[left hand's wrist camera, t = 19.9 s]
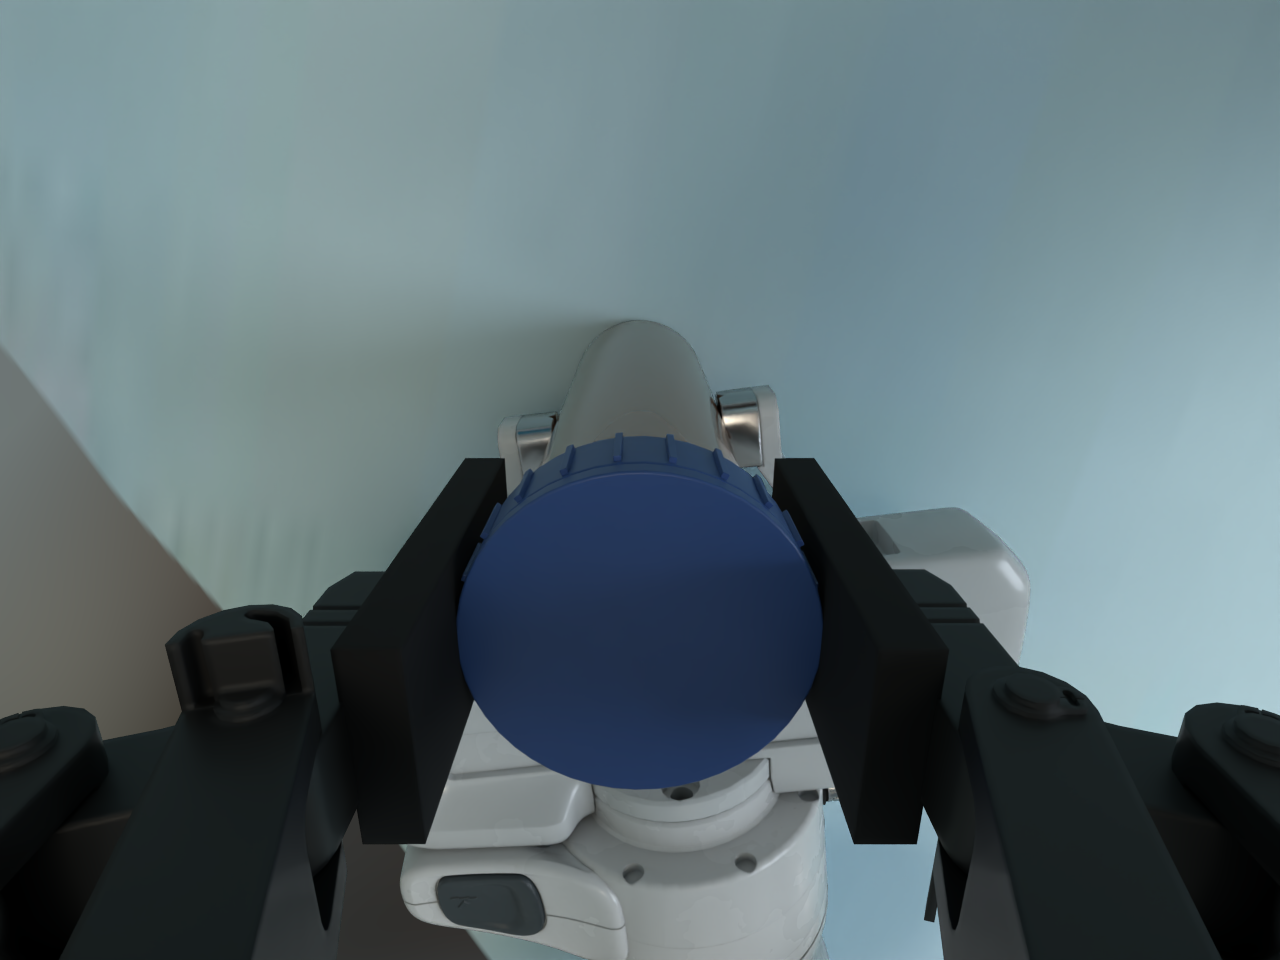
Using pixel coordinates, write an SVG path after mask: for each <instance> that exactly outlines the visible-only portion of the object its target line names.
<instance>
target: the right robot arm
mask: <svg viewBox="0 0 1280 960" xmlns="http://www.w3.org/2000/svg"><path fill="white" fill-rule="evenodd" d="M716 405H717V408H718V411H719V413H720V416H721V418H722V421H723V423H724V426H725V428H726V431H727V433H728V436H729V438H730V441H731V443H732V446H733V448H734V451H735V453H736V456H737V458H738V461H739V463H740V466H741V468H742V467H753V466H757V467H758V469H759V470H760V472H761V473H762V474H763V476H764V477H765V478H766V480H767V481H768V482H769V484H770V485H771V487H772V488H773V476H774V461H775V458H786V457H785V456H784V455H783V453H782V452H781V438H780V422H779V409H778V404H777V399H776V395H775V393H774V392H773V390H772V389H771V388H770V386H769V385H764V386H756V387H751V388H750V387H748V388H740V389H733V390H726V391H718V392H716ZM558 417H559V416H558V413H557V412H549V413H539V414H530V415H517V416H511V417H505V418H504V419H503V421H502V422H501V424H500V425H499V427H498V448H499V453H500V458H505V468H506V483H507V497H508V496H509V495H510V494H511V493H512V492H513V491H514V489H515V488H516V487H517V486H518V485H519V484H520V483H521V480H522V478H523V476H524V474H525V472H526V471H527V470H528V469H531V470H532V471H533V472H534V471H535V470H536V469H538V467H539V465H540V462H541V460H542V457H543V455H544V452H545V450H546V447H547V445H548V442H549V439H550V437H551V434H552V432H553V429H554V427H555V424H556V422H557V419H558ZM857 520H858V521H859V522H860V524H861V525H862V527H863V528H864V530H865V531H866V532H867V534H868V535H869V537H870V538H871V539H872V541H873V542H874V544H875V545H876V547H877V548H878V549H879V551H880V552H881V554H882V555H883V556H884V558H885V559H886V561H887V562H888V564H889V565H890V566H891V568H892V569H925V570H927V571H929V572H930V573H932V574H934V575H935V576H937V577H939V578H940V579H942V580H944V581H945V582H947V583H949V584H950V585H952V586H953V588H954V589H955V590H956V591H957V592H958V594H959V595H960V596H961V597H962V598H963V600H964V601H965V602H966V603H967V607H970V608H971V609H972V610H973V612H974V613H975V614H976V615H977V616H978V618H979V619H980V623H983V624H984V625H985V626H986V627H987V628H988V630H989V631H990V632H991V633H992V634H993V636H994V637H995V638H996V639H997V640H998V642H999V643H1000V644H1001V645H1002V646H1003V648H1004V649H1005V650H1006V651H1007V652H1008V654H1009V655H1010V656H1011V657H1012V658H1013V660H1014V661H1015V662H1016V663H1017V664H1018V666H1019V662H1020V657H1021V652H1022V647H1023V642H1024V636H1025V631H1026V625H1027V618H1028V611H1029V603H1030V590H1031V589H1030V579H1029V575H1028V573H1027V570H1026V569H1025V567H1024V565H1023V563H1022V562H1021V561H1020V559H1019V558H1018V557H1017V556H1016V555H1015V553H1014V552H1013V551H1012V550H1011V549H1010V548H1009V547H1008V546H1007V545H1006V544H1005V543H1004V541H1003V540H1002V539H1001V538H1000V537H999V536H997V535H996V534H995V533H994V532H993V531H992V530H990V529H989V528H988V527H987V526H985V525H984V524H983V523H981V522H980V521H979V520H977V519H976V518H975V517H974V516H972V515H971V514H970V513H968V512H967V511H965V510H963V509H960V508H938V509H930V510H921V511H912V512H903V513H895V514H886V515H877V516H868V517H860V518H857ZM826 801H828V802H831V801H839V798H838V795H837V792H836V790H835V787H834V784H833V781H832V778H831V775H830V772H829V769H828V766H827V763H826V760H825V757H824V754H823V751H822V748H821V745H820V742H819V739H818V736H817V733H816V730H815V727H814V724H813V721H812V719H811V716H810V713H809V710H808V707H807V704H806V701H805V700H804V702H803V704H802V706H801V707H800V709H799V710H798V712H797V713H796V714H795V716H794V717H793V719H792V720H791V721H790V723H789V724H788V725H787V726H786V727H785V728H784V729H783V730H782V731H781V732H780V733H779V735H778V736H777V737H776V738H775V739H774V740H772V741H771V742H770V743H769V744H768V745H766V746H765V747H764V748H763V749H761V750H760V751H759V752H758V753H756V754H755V755H753V756H752V757H750V758H748V759H747V760H745V761H744V762H742V763H741V764H739V765H737V766H735V767H733V768H731V769H729V770H727V771H725V772H723V773H721V774H718V775H715V776H712V777H710V778H707V779H704V780H701V781H698V782H694V783H690V784H685V785H681V786H676V787H669V788H661V789H642V790H632V789H619V788H610V787H604V786H599V785H593V784H589V783H586V782H582V781H579V780H575V779H572V778H569V777H567V776H564V775H562V774H560V773H557V772H555V771H552V770H550V769H548V768H546V767H545V766H543V765H541V764H539V763H537V762H536V761H534V760H532V759H530V758H529V757H528V756H526V755H525V754H523V753H522V752H521V751H519V750H518V749H517V748H515V747H514V746H513V745H512V744H511V743H509V742H508V741H507V740H506V739H505V738H504V737H503V736H502V735H501V734H500V733H499V732H498V731H497V730H496V729H495V728H494V726H493V725H492V724H491V723H490V722H489V721H488V719H487V718H486V717H485V716H484V714H483V712H482V711H481V709H480V708H479V706H478V705H477V703H476V702H475V700H474V702H473V705H472V708H471V711H470V714H469V717H468V720H467V723H466V726H465V729H464V732H463V735H462V738H461V741H460V744H459V747H458V750H457V753H456V756H455V759H454V762H453V764H452V767H451V770H450V773H449V776H448V779H447V782H446V785H445V788H444V791H443V794H442V797H441V800H440V803H439V806H438V809H437V812H436V815H435V818H434V821H433V824H432V827H431V830H430V832H429V835H428V838H427V841H426V844H407V849H406V854H405V858H404V863H403V868H402V873H401V878H400V887H401V893H402V897H403V900H404V903H405V905H406V907H407V909H408V910H409V911H410V913H411V914H412V915H413V916H415V917H416V918H418V919H419V920H422V921H424V922H427V923H430V924H435V925H441V926H447V927H454V928H461V929H468V930H475V931H481V932H487V933H493V934H498V935H503V936H509V937H514V938H518V939H522V940H527V941H531V942H535V943H539V944H542V945H546V946H549V947H553V948H556V949H559V950H562V951H565V952H568V953H571V954H573V955H576V956H579V957H582V958H585V959H588V960H829V956H828V952H827V948H826V945H825V942H824V939H823V937H822V932H823V929H824V925H825V920H826V913H827V905H828V885H827V867H826V846H825V823H824V814H823V805H825V804H826Z"/></svg>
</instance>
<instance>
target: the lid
mask: <svg viewBox="0 0 1280 960" xmlns="http://www.w3.org/2000/svg"><path fill="white" fill-rule="evenodd" d="M480 537H481V538H483V539H484V540H483V542H482V543H478V544H477V546H476V548H475V550H474V552H473V554H472V556H471V558H470V560H469V562H468V564H467V567H466V569H465V571H464V573H463V575H462V578H461V581H464V585H463V588H462V591H461V594H460V597H459V604H458V610H457V616H456V624H457V636H458V647H459V657H460V664H461V668H462V671H463V675H464V678H465V681H466V683H467V685H468V687H469V690H470V692H471V694H472V696H473V698H474V700H475V702H476V703H477V705H478V706H479V708H480V709H481V711H482V712H483V714H484V716H485V717H486V718H487V719H488V721H489V722H490V723H491V724H492V725H493V726H494V728H495V729H496V730H497V731H498V732H499V733H500V734H501V735H502V736H503V737H504V738H505V739H506V740H507V741H508V742H509V743H511V744H512V745H513V746H514V747H515V748H517V749H518V750H519V751H521V752H522V753H523V754H525V755H526V756H528V757H529V758H530V759H532V760H534V761H536V762H537V763H539V764H541V765H543V766H545V767H546V768H548V769H550V770H552V771H555V772H557V773H560V774H562V775H564V776H567V777H569V778H572V779H575V780H579V781H582V782H586V783H589V784H593V785H599V786H604V787H610V788H619V789H632V790H642V789H661V788H669V787H676V786H681V785H685V784H690V783H694V782H698V781H701V780H704V779H707V778H710V777H712V776H715V775H718V774H721V773H723V772H725V771H727V770H729V769H731V768H733V767H735V766H737V765H739V764H741V763H742V762H744V761H745V760H747V759H748V758H750V757H752V756H753V755H755V754H756V753H758V752H759V751H760V750H761V749H763V748H764V747H765V746H766V745H768V744H769V743H770V742H771V741H772V740H774V739H775V738H776V737H777V736H778V735H779V733H780V732H781V731H782V730H783V729H784V728H785V727H786V726H787V725H788V724H789V723H790V721H791V720H792V719H793V717H794V716H795V714H796V713H797V712H798V710H799V709H800V707H801V706H802V704H803V702H804V700H805V698H806V697H807V695H808V693H809V691H810V689H811V687H812V684H813V681H814V679H815V676H816V673H817V670H818V667H819V660H820V651H821V641H822V630H823V613H822V605H821V601H820V597H819V593H818V582H817V580H816V578H815V575H814V573H813V571H812V569H811V567H810V565H809V563H808V561H807V559H806V557H805V555H804V553H803V551H801V549H800V547H801V546H803V545H804V543H803V541H802V539H801V536H800V534H799V532H798V530H797V528H796V526H795V524H794V522H793V520H792V518H791V516H790V514H789V513H788V511H787V510H785V511H783V512H781V510H780V508H779V507H778V505H777V503H776V502H775V501H774V500H773V498H772V497H771V496H770V495H769V493H768V492H767V490H766V488H765V486H764V483H763V481H762V479H761V478H760V477H759V476H758V475H757V474H756V475H755V476H754V477H752V476H751V475H750V474H748V473H747V472H746V471H744V470H743V469H742V468H740V467H739V466H737V465H736V464H734V463H733V462H731V461H730V460H728V459H726V458H724V457H723V454H722V451H721V450H719V449H717V448H715V449H714V451H713V452H712V451H711V450H708V449H705V448H702V447H699V446H697V445H694V444H691V443H688V442H683V441H678V440H674V435H672V434H667V435H666V438H661V437H650V436H631V437H623V433H616V434H615V438H612V439H606V440H599V441H596V442H593V443H589V444H586V445H583V446H579V447H577V448H575V447H574V445H573V444H572V445H569V446H567V448H566V451H565V453H563V454H561V455H559V456H557V457H555V458H553V459H552V460H550V461H549V462H547V463H545V464H544V465H542V466H540V467H539V468H538V469H536V470H535V471H534V472H533V471H532V470H531V469H528V470H527V471H526V472H525V474H524V476H523V478H522V480H521V483H520V484H519V485H518V486H517V487H516V488H515V489H514V491H513V492H512V493H511V494H510V495H509V496H508V497H507V499H506V500H505V502H504V503H503V505H501V504H500V503H497V504H496V505H495V507H494V509H493V511H492V513H491V515H490V517H489V519H488V521H487V523H486V525H485V527H484V529H483V531H482V533H481V535H480Z"/></svg>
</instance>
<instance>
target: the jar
mask: <svg viewBox="0 0 1280 960" xmlns="http://www.w3.org/2000/svg"><path fill="white" fill-rule="evenodd" d="M616 433H623V437H631V436H650V437H661V438H666V435H667V434H672V435H674V440H678V441H683V442H688V443H691V444H694V445H697V446H699V447H702V448H705V449H708V450H711V451H712V452H713V451H714V449H715V448H717V449H719V450H721V451H722V454H723V457H724V458H726V459H728V460H730V461H731V462H733V463H734V464H736V465H737V466H739V467H740V468H741V466H740V463H739V461H738V458H737V456H736V453H735V451H734V448H733V446H732V443H731V441H730V438H729V436H728V433H727V431H726V428H725V426H724V423H723V421H722V418H721V416H720V413H719V411H718V408H717V405H716V403H715V400H714V398H713V395H712V393H711V390H710V388H709V385H708V383H707V380H706V378H705V375H704V373H703V370H702V368H701V365H700V363H699V360H698V358H697V356H696V354H695V352H694V350H693V349H692V347H691V346H690V344H689V343H688V342H687V341H686V340H685V339H684V338H683V337H682V336H681V335H680V334H679V333H677V332H676V331H674V330H673V329H671V328H669V327H667V326H665V325H662V324H659V323H656V322H651V321H642V320H637V321H628V322H623V323H620V324H617V325H615V326H613V327H611V328H609V329H607V330H605V331H604V332H602V333H601V334H600V335H599V336H597V337H596V338H595V339H594V340H593V341H592V343H591V344H590V345H589V346H588V348H587V349H586V351H585V353H584V354H583V357H582V359H581V361H580V364H579V366H578V369H577V371H576V374H575V376H574V379H573V381H572V384H571V386H570V389H569V391H568V394H567V396H566V399H565V402H564V404H563V407H562V409H561V412H560V414H559V417H558V419H557V422H556V424H555V427H554V429H553V432H552V434H551V437H550V439H549V442H548V445H547V447H546V450H545V452H544V455H543V457H542V460H541V462H540V465H539V467H540V466H542V465H544V464H545V463H547V462H549V461H550V460H552V459H553V458H555V457H557V456H559V455H561V454H563V453H565V451H566V448H567V446H569V445H572V444H573V445H574V447H575V448H577V447H579V446H583V445H586V444H589V443H593V442H596V441H599V440H606V439H612V438H615V434H616ZM539 467H538V468H539Z"/></svg>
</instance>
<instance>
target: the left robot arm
mask: <svg viewBox="0 0 1280 960" xmlns="http://www.w3.org/2000/svg"><path fill="white" fill-rule="evenodd" d="M772 498H773V500H774V501H775V502H776V503H777V505H778V507H779V508H780V510H781V512H783V511H785V510H787V511H788V513H789V514H790V516H791V518H792V520H793V522H794V524H795V526H796V528H797V530H798V532H799V534H800V536H801V539H802V541H803V543H804V545H803V546H801V547H800V549H801V551H803V553H804V555H805V557H806V559H807V561H808V563H809V565H810V567H811V569H812V571H813V573H814V575H815V578H816V580H817V582H818V593H819V597H820V601H821V605H822V613H823V630H822V641H821V651H820V660H819V667H818V670H817V673H816V676H815V679H814V681H813V684H812V687H811V689H810V691H809V693H808V695H807V697H806V698H805V701H806V704H807V707H808V710H809V713H810V716H811V719H812V721H813V724H814V727H815V730H816V733H817V736H818V739H819V742H820V745H821V748H822V751H823V754H824V757H825V760H826V763H827V766H828V769H829V772H830V775H831V778H832V781H833V784H834V787H835V790H836V792H837V795H838V798H839V801H840V804H841V807H842V810H843V813H844V816H845V819H846V822H847V825H848V828H849V831H850V834H851V837H852V840H853V843H854V844H917V840H918V834H919V828H920V822H921V816H922V810H923V806H924V808H925V810H926V812H927V815H928V817H929V819H930V821H931V823H932V825H933V827H934V829H935V831H936V833H937V836H938V842H937V848H936V853H935V859H934V864H933V870H932V875H931V881H930V887H929V892H928V898H927V903H926V910H925V917H924V920H926V921H930V922H934V920H935V915H936V910H937V908H938V916H939V924H940V932H941V940H942V948H943V956H944V960H1280V715H1277V714H1275V713H1272V712H1269V711H1265V710H1262V711H1260V710H1259V709H1258V708H1254V707H1250V706H1245V705H1233V704H1225V703H1210V704H1202V705H1196V706H1195V707H1193V708H1192V709H1190V710H1189V711H1188V712H1186V713H1185V716H1184V719H1183V722H1182V725H1181V729H1180V732H1179V735H1178V737H1174V736H1169V735H1164V734H1159V733H1153V732H1148V731H1143V730H1138V729H1133V728H1128V727H1123V726H1118V725H1114V724H1110V723H1106V722H1104V721H1103V719H1102V717H1101V715H1100V713H1099V711H1098V710H1097V708H1096V707H1095V706H1094V705H1093V704H1092V702H1091V701H1090V700H1089V699H1088V697H1087V696H1086V695H1084V694H1083V693H1081V692H1080V691H1078V690H1077V689H1076V688H1074V687H1073V686H1071V685H1070V684H1068V683H1067V682H1064V681H1062V680H1060V679H1057V678H1055V677H1053V676H1050V675H1048V674H1046V673H1043V672H1039V671H1035V670H1031V669H1026V668H1022V667H1019V666H1018V664H1017V663H1016V662H1015V661H1014V660H1013V658H1012V657H1011V656H1010V655H1009V654H1008V652H1007V651H1006V650H1005V649H1004V648H1003V646H1002V645H1001V644H1000V643H999V642H998V640H997V639H996V638H995V637H994V636H993V634H992V633H991V632H990V631H989V630H988V628H987V627H986V626H985V625H984V624H983V623H980V619H979V618H978V616H977V615H976V614H975V613H974V612H973V610H972V609H971V608H970V607H967V603H966V602H965V601H964V600H963V598H962V597H961V596H960V595H959V594H958V592H957V591H956V590H955V589H954V588H953V586H952V585H950V584H949V583H947V582H945V581H944V580H942V579H940V578H939V577H937V576H935V575H934V574H932V573H930V572H929V571H927V570H925V569H892V568H891V566H890V565H889V564H888V562H887V561H886V559H885V558H884V556H883V555H882V554H881V552H880V551H879V549H878V548H877V547H876V545H875V544H874V542H873V541H872V539H871V538H870V537H869V535H868V534H867V532H866V531H865V530H864V528H863V527H862V525H861V524H860V522H859V521H858V520H857V518H856V517H855V515H854V514H853V513H852V511H851V510H850V508H849V507H848V505H847V504H846V503H845V501H844V500H843V498H842V497H841V496H840V494H839V493H838V491H837V490H836V488H835V487H834V486H833V484H832V483H831V481H830V480H829V479H828V477H827V476H826V474H825V473H824V471H823V470H822V469H821V467H820V466H819V464H818V463H817V462H816V460H815V459H814V458H775V461H774V476H773V491H772ZM506 499H507V483H506V468H505V458H465V459H464V461H463V462H462V464H461V465H460V467H459V468H458V469H457V471H456V472H455V474H454V475H453V476H452V478H451V479H450V481H449V482H448V484H447V485H446V486H445V488H444V489H443V491H442V492H441V493H440V495H439V496H438V498H437V499H436V501H435V502H434V503H433V505H432V506H431V508H430V509H429V510H428V512H427V513H426V515H425V516H424V518H423V519H422V520H421V522H420V523H419V525H418V526H417V527H416V529H415V530H414V532H413V533H412V535H411V536H410V537H409V539H408V540H407V542H406V543H405V544H404V546H403V547H402V549H401V550H400V552H399V553H398V554H397V556H396V557H395V559H394V560H393V561H392V563H391V564H390V566H389V567H388V569H387V570H386V571H385V572H354V573H352V574H350V575H349V576H347V577H345V578H344V579H342V580H340V581H339V582H337V583H335V584H334V585H332V586H330V587H329V588H328V589H327V590H326V591H325V592H324V594H323V595H322V596H321V597H320V599H319V600H318V601H317V602H316V603H315V605H314V606H313V610H310V611H309V612H308V613H307V614H306V615H305V617H304V618H303V619H302V616H301V615H300V614H298V613H297V612H296V611H294V610H293V609H292V608H288V607H283V606H278V605H273V604H272V605H248V606H243V607H238V608H233V609H228V610H223V611H221V612H218V613H215V614H212V615H210V616H207V617H204V618H201V619H199V620H197V621H195V622H193V623H192V624H190V625H188V626H186V627H185V628H183V629H181V630H179V631H178V632H177V633H176V634H175V635H174V636H173V637H172V638H171V639H170V640H169V641H168V642H167V643H166V644H165V647H166V651H167V655H168V659H169V663H170V666H171V670H172V674H173V678H174V682H175V686H176V690H177V694H178V698H179V702H180V705H181V709H182V712H181V715H180V717H179V719H178V721H177V723H176V725H175V726H171V727H167V728H163V729H159V730H154V731H149V732H143V733H138V734H134V735H128V736H124V737H118V738H113V739H108V740H102V737H101V734H100V731H99V727H98V724H97V721H96V718H95V716H93V715H92V714H91V713H89V712H88V711H87V710H85V709H83V708H75V707H67V706H60V707H51V708H43V709H33V710H29V711H24V712H22V714H18V713H17V714H14V715H11V716H8V717H5V718H2V719H0V960H336V958H337V949H338V941H339V933H340V926H341V918H342V910H343V902H344V893H345V885H346V877H347V867H346V859H345V853H344V848H343V842H342V838H343V836H344V834H345V832H346V830H347V828H348V826H349V824H350V822H351V819H352V817H353V815H354V813H355V811H356V809H357V813H358V819H359V825H360V831H361V837H362V842H363V844H426V841H427V838H428V835H429V832H430V830H431V827H432V824H433V821H434V818H435V815H436V812H437V809H438V806H439V803H440V800H441V797H442V794H443V791H444V788H445V785H446V782H447V779H448V776H449V773H450V770H451V767H452V764H453V762H454V759H455V756H456V753H457V750H458V747H459V744H460V741H461V738H462V735H463V732H464V729H465V726H466V723H467V720H468V717H469V714H470V711H471V708H472V705H473V702H474V698H473V696H472V694H471V692H470V690H469V687H468V685H467V683H466V681H465V678H464V675H463V671H462V668H461V664H460V657H459V647H458V636H457V624H456V616H457V610H458V604H459V597H460V594H461V591H462V588H463V585H464V581H461V578H462V575H463V573H464V571H465V569H466V567H467V564H468V562H469V560H470V558H471V556H472V554H473V552H474V550H475V548H476V546H477V544H478V543H482V542H483V540H484V539H483V538H481V537H480V535H481V533H482V531H483V529H484V527H485V525H486V523H487V521H488V519H489V517H490V515H491V513H492V511H493V509H494V507H495V505H496V504H497V503H500V504H501V505H503V503H504V502H505V500H506Z"/></svg>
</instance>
